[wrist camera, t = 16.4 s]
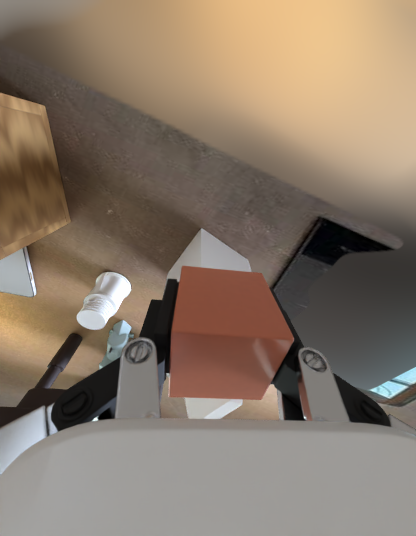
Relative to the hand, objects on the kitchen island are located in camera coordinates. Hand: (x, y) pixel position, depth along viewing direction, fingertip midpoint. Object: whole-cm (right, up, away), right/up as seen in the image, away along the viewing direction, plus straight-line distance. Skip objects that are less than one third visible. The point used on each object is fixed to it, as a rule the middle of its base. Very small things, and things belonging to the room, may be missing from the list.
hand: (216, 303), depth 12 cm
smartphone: (-39, +3, +26) cm, 47 cm away
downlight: (-20, -1, +30) cm, 36 cm away
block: (0, 0, 0) cm, 0 cm away
